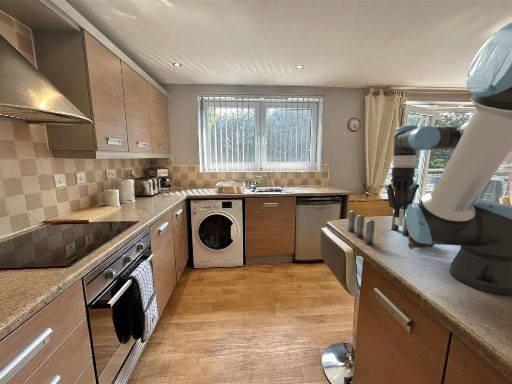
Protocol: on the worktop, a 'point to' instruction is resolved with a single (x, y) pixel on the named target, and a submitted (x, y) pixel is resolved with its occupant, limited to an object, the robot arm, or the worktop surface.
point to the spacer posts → (369, 226)
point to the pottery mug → (416, 244)
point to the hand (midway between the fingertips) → (398, 224)
